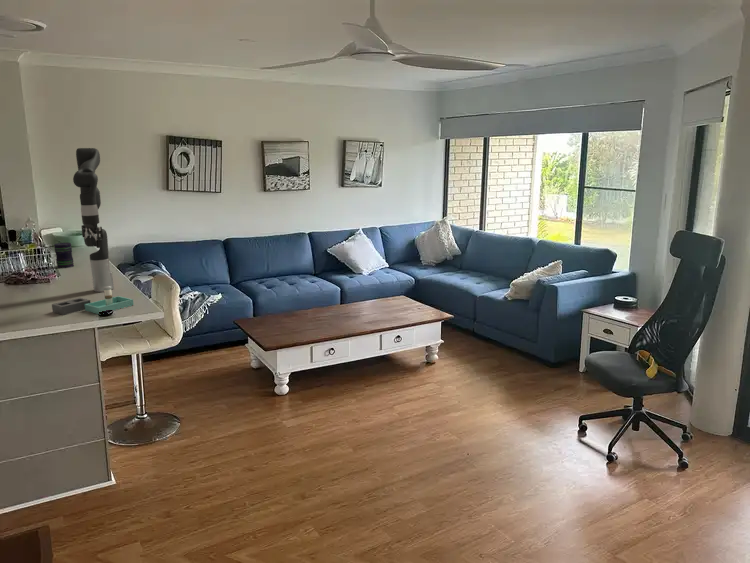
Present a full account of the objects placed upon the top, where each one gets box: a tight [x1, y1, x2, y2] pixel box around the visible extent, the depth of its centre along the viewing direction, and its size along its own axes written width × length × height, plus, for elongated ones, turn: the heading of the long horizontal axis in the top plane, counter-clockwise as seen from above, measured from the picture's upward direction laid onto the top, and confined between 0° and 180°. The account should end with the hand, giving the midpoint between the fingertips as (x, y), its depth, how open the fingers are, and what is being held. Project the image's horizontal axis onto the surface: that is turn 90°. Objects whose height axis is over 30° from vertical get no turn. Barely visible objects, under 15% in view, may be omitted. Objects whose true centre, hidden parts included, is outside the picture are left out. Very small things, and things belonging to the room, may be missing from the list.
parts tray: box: [84, 295, 134, 315], centre depth 291 cm, size 18×12×3 cm, turn 146°
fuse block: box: [51, 297, 92, 316], centre depth 288 cm, size 14×9×4 cm, turn 146°
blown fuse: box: [104, 286, 113, 306], centre depth 290 cm, size 3×3×10 cm
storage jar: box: [53, 242, 75, 269], centre depth 387 cm, size 10×10×15 cm
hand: (94, 246), depth 296 cm, fingers open, 8 cm apart
